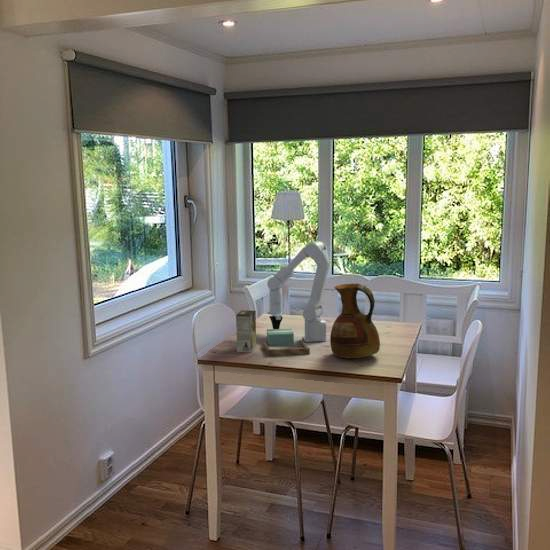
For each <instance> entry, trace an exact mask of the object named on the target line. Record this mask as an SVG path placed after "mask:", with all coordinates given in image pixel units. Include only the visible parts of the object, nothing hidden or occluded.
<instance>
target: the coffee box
mask: <svg viewBox="0 0 550 550" xmlns="http://www.w3.org/2000/svg"><path fill="white" fill-rule="evenodd" d="M256 319H257V313H256V310H240V311H239V312H238V313H237V314H236V315H235V321H236V326H235V327H236V352H237V353H250V354H251V353H252V352H253V351H254V350H255V349H256V348H257V327H256V326H257V320H256Z"/></svg>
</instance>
